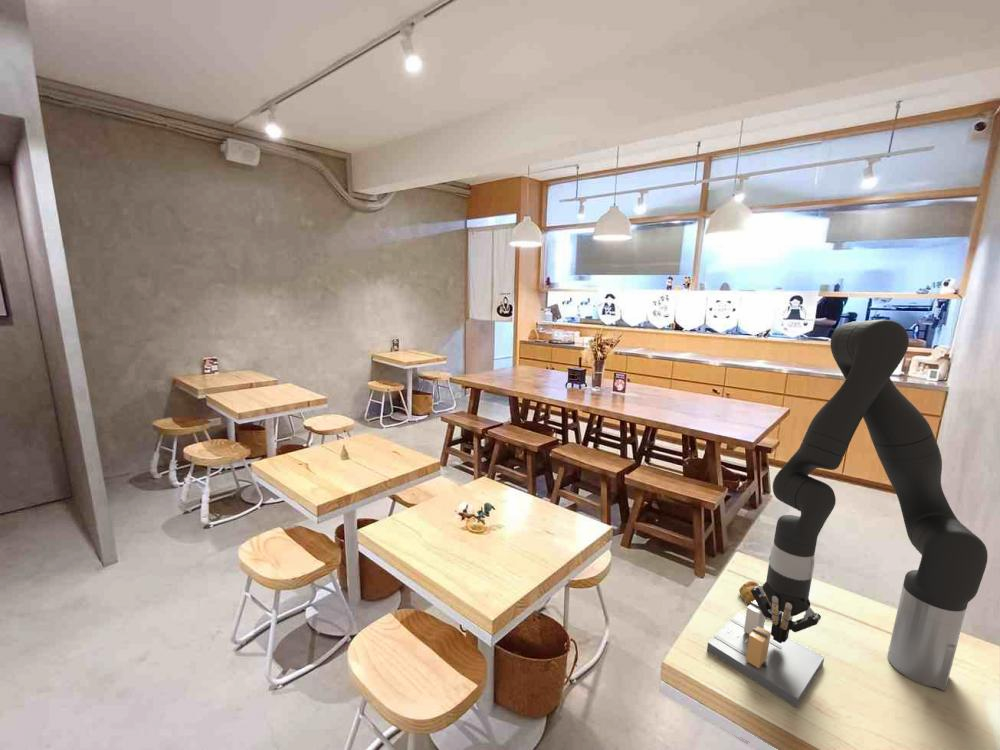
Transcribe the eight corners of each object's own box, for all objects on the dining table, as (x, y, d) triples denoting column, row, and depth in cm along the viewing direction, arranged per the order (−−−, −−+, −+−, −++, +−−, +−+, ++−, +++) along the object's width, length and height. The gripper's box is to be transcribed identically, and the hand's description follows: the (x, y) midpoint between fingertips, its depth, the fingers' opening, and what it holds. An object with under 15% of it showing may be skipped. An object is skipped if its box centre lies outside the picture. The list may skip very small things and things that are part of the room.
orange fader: (767, 658, 92) (771, 631, 90) (759, 668, 89) (763, 640, 88) (753, 650, 94) (757, 623, 92) (745, 660, 91) (749, 632, 90)
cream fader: (763, 629, 99) (767, 604, 98) (756, 638, 97) (760, 612, 96) (751, 622, 101) (754, 597, 100) (743, 631, 99) (747, 605, 98)
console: (822, 665, 93) (824, 656, 93) (796, 707, 83) (798, 698, 83) (738, 618, 106) (739, 610, 106) (706, 650, 96) (708, 641, 96)
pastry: (786, 617, 107) (789, 603, 106) (762, 620, 106) (764, 606, 105) (757, 591, 116) (759, 578, 115) (734, 594, 115) (736, 581, 114)
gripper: (834, 576, 89) (820, 650, 92) (762, 546, 99) (752, 614, 102) (823, 591, 84) (808, 669, 88) (748, 558, 94) (738, 629, 98)
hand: (778, 639), depth 95 cm, fingers closed
